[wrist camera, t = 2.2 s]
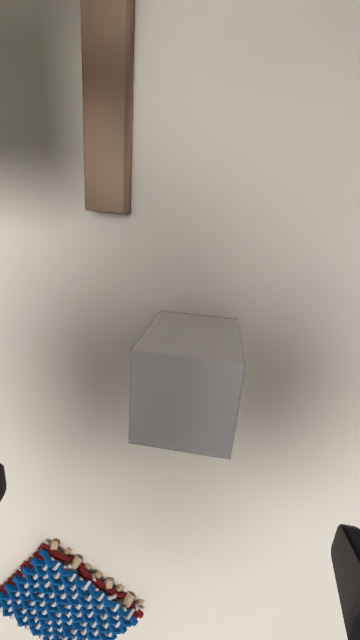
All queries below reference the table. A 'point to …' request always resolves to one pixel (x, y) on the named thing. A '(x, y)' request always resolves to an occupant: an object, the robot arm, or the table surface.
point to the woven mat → (66, 599)
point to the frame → (107, 102)
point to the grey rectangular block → (186, 384)
